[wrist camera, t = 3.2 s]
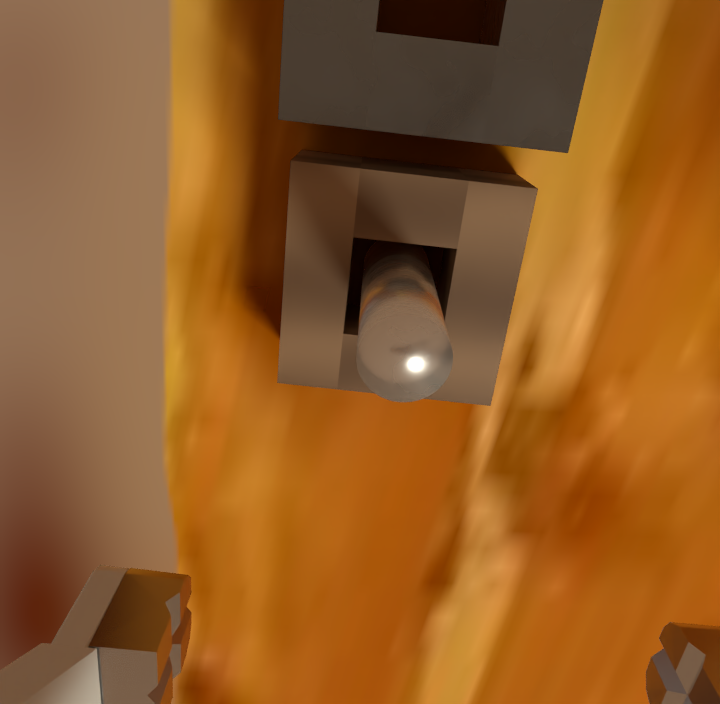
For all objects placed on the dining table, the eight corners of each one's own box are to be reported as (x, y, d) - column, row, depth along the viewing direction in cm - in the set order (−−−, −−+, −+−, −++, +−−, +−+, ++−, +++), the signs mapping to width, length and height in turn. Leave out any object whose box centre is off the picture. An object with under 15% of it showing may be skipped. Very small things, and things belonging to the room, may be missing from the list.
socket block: (302, 149, 29) (290, 160, 25) (517, 174, 29) (537, 188, 25) (288, 348, 33) (277, 382, 29) (477, 369, 33) (490, 405, 29)
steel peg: (406, 221, 30) (420, 295, 20) (440, 275, 31) (470, 372, 21) (351, 258, 31) (337, 346, 21) (386, 309, 32) (390, 417, 22)
